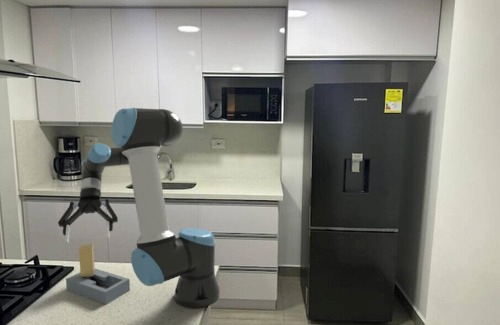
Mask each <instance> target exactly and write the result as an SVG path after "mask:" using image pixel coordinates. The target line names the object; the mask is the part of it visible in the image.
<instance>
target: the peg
mask: <svg viewBox="0 0 500 325" xmlns="http://www.w3.org/2000/svg"><path fill="white" fill-rule="evenodd" d="M78 255H79V271H80V272H79V273H80V274H81V277H85V278H86V279H89V280H92V281H95V282H96V280H93V279H91V276H93V275H94V271H95V269H96V267H95V252H94V243H88V244H81V245H80V246H79V249H78ZM96 283H97V282H96Z"/></svg>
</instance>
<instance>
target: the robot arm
mask: <svg viewBox="0 0 500 325" xmlns="http://www.w3.org/2000/svg"><path fill="white" fill-rule="evenodd" d="M183 130H184V129H183V122H182V121H181V119H180V117H179V116H178V115H177V114H176V113H175V112H173V111H171V110H168V109H165V108H164V109H163V108H143V107H142V108H139V107H138V108H137V107H132V108H121V109H119V110H118V111H117V112H116V113H115V115H114V117H113V120H112V124H111V140H112V142H113V145H114V146H116V147H109V146H108V145H107V144H106V143H105V144H104V143H101V142H98V143H95V144H93V145H92V146H91V147H90V149H89V151H88V152H87V156H86V158H84V159H83V161H82V165H81V180H80V188H79V189H80V190H79V191H80V192H79V201H78V202H73V201H70V203H69V205H68V207H67V209H66V210H65V212H64V213H63V214H62V216H61V217H60V218H59V221H58V222H57V224H58V226H59V227H60V228H62V234H63V236H64V237H65V239H64V242H65V244H66V245H67V246H68V245H69V244H70V235H71V227H70V226H71V225H72V224H73V223H74V222H75V221H76V220H77V219H79V217H80V216H83V214H87V215H88V214H95V213H97V215H100V216H101V217H102V218H103V219H104V220H105V221H106V240H107V241H110V232H112V231H113V229H114V223H118V221H119V219H118V216H117V214H116V213H115V211H114V210H113V208H112V206H111V205H110V201H109V199H105V201H104V200H103V201H102V199H101V198H102V192H101V191H102V177H103V176H102V175H103V172H104V170H105V168H107V167H116V166H127V165H128V166H129V171H130V178H131V184H132V189H133V195H134V196H133V197H134V202H135V209H136V214H137V222H138V227H139V237H138V239H137V240H136V242H135V243H136V248H134V250H132V252H131V257H130V262H131V266H132V269H133V272H134V274H135V276H136V277H137V279H138V281H139V282H141V284H143V285H144V286H147V287H153V286H156V285H162V284H164V283H165V282H168V281H169V280H170V281H171V280H173V279H175V278H178V280H177V283H176V287H175V290H174V299H175V300H174V301H175V302H176V304H178V305H179V306H181V307H183V308H188V309H200V308H206V307H208V306H211V305H213V304H215V303H216V302H217V301H218V300H219V299H220V295H221V294H220V293H221V292H220V291H221V290H220V289H221V288H220V286H219V284H218V280H217V277H216V272H215V248H216V244H215V243H216V242H215V235H214V234H213V232H211V231H210V230H207V229H204V228H197V227H190V228H183V229H180V230H179V232H178V237H176V234H175V232H173V231H172V230H170V227H169V220H168V215H167V214H168V213H167V208H166V202H165V197H164V191H163V190H164V189H163V185H162V184H163V182H162V178H161V172H160V166H159V159H158V153H159V152H160V151H161V149H162V148H163V147H169V146H171V145H173V144H175V143H176V142H178V141H179V140H180V138H181V137H182V135H183ZM101 206H103V207H104V208H105V209H106V210H107V212H108V213H109V214H108V213H106V212H105V211H104V210H103V209H102V208H101ZM77 207H78V208H77ZM76 208H77V209H76ZM74 210H76V211H75V212H73V211H74Z"/></svg>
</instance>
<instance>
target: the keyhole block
mask: <svg viewBox="0 0 500 325" xmlns="http://www.w3.org/2000/svg"><path fill="white" fill-rule="evenodd" d="M91 279H93V280H96V282H95V281H92V280H89V279H86V278H85V277H81V274H80V272H78V273H75V274H73V275H71V276H68V277H67V278H65V286H66V291H68V292H71V293H74V294H77V295H80V296H82V297H85V298H87V299H90V300H93V301H96V302H99V303H101V304H104V305H109V303H111V302H113V301H115V300H116V299H118V298H119V297H121V296H123V295H124V294H126V293H128V292H129V291H130V290H131V287H130V286H131V283H130V282H131V281H130V278H128V277H123V276H121V275H118V274H114V273H111V272H108V271H104V270H101V269H99V268H95V271H94V275H93V276H91ZM97 284H100V285H103V286H107V287H108V288H104V287H101V286H98V285H97Z"/></svg>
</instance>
